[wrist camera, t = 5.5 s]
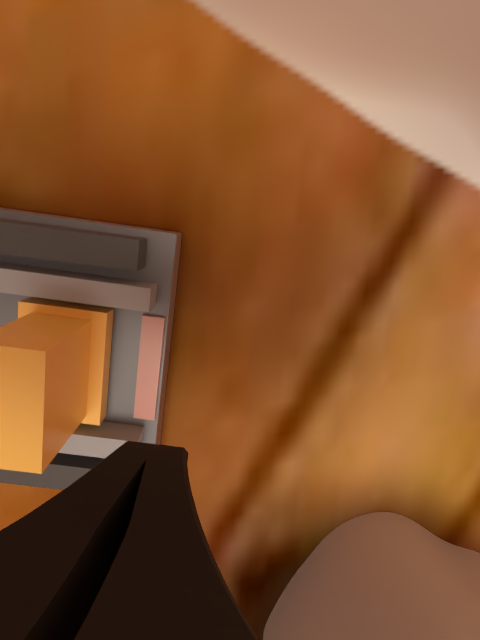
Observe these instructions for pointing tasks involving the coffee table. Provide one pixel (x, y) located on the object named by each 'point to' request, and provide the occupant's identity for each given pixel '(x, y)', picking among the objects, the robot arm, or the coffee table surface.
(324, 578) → the lumpy-topped squat cylinder
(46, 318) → the breaker lever
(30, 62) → the coffee table surface
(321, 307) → the coffee table surface
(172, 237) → the breaker panel
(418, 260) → the coffee table surface
